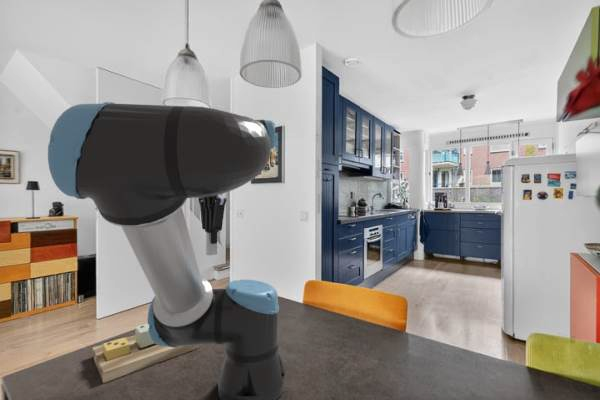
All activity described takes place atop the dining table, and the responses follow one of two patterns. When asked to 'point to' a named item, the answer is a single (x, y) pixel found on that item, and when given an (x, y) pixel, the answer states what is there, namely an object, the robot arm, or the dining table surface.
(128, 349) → the tile three
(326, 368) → the dining table surface
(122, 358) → the board
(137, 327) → the tile two
